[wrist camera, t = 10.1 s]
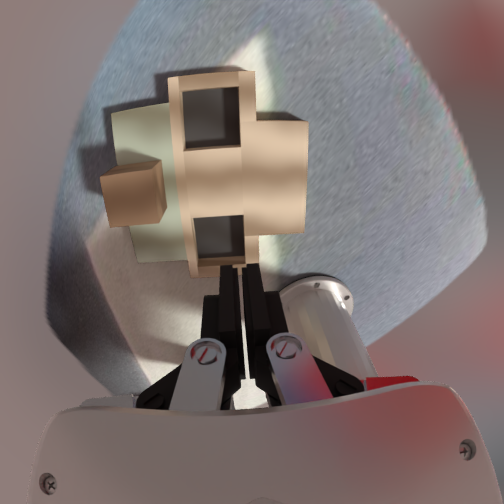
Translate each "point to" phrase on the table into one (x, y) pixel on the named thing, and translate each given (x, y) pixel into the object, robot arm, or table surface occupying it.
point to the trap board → (215, 172)
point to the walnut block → (134, 194)
